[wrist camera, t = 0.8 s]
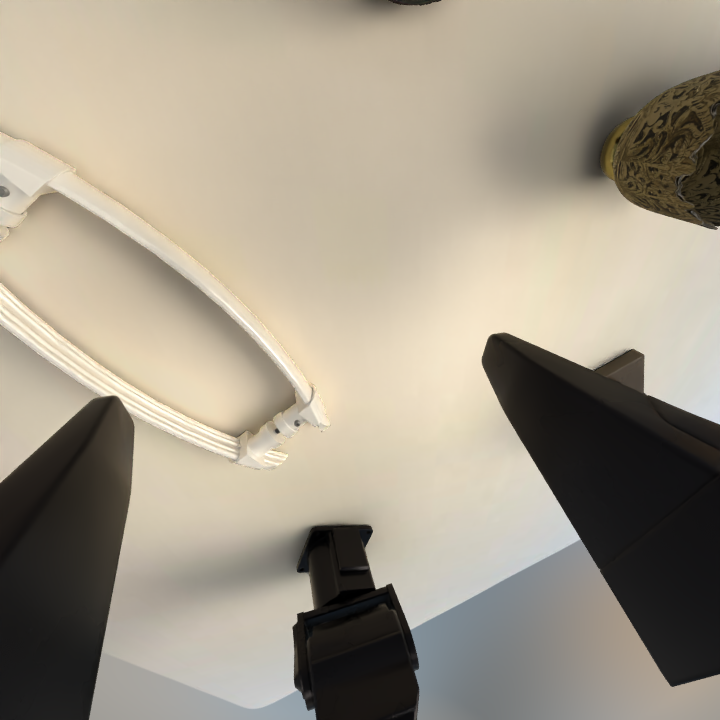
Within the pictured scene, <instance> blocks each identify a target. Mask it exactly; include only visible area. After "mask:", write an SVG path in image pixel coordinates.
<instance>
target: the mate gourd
mask: <svg viewBox="0 0 720 720" xmlns="http://www.w3.org/2000/svg"><path fill="white" fill-rule="evenodd" d="M388 1H391V2H393V3H396V4H400V5H420V6H421V5H425V4H426V5H427V4H431V3H432V2H439V1H441V0H388Z"/></svg>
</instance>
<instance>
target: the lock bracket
mask: <svg viewBox="0 0 720 720" xmlns="http://www.w3.org/2000/svg"><path fill="white" fill-rule="evenodd" d="M595 372H597V373H599V374H601V375H604V376H606V377H608V378H611V379H613V380H615V381H617V382H620V383H622V384H624V385H627V386H629V387H631V388H633V389H636V390H638V391H640V392H643V393H644V354H642V353H640V352H638V351H636V350H634V349H633V350H631V351H629V352H627V353H626V354H624V355H622V356H620V357H618V358H617V359H615V360H613V361H611V362H610V363H608V364H606V365H604V366H602V367H601V368H599V369H597V370H595Z"/></svg>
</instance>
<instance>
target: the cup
mask: <svg viewBox="0 0 720 720" xmlns="http://www.w3.org/2000/svg"><path fill="white" fill-rule="evenodd" d="M600 164H601V169H602V171H603V173H604V174H605V175H606V176H607V177H608V178H610V179H611V180H613V181H615V183H616V185H617V187H618V189H619V191H620V192H621V194H622V195H623V196H624V197H625V198H626V199H627V200H629V201H630V202H632V203H633V204H635V205H637V206H639V207H642V208H644V209H646V210H649V211H652V212H655V213H659V214H662V215H665V216H669V217H672V218H676V219H679V220H683V221H686V222H690V223H694V224H697V225H700V226H703V227H706V228H710V229H714V230H717V229H718V228H717V227H715V226H720V70H719V71H716V72H713V73H709V74H706V75H703V76H700V77H697V78H694V79H691V80H689V81H686V82H683V83H681V84H679V85H677V86H675V87H673V88H670V89H668V90H667V91H665V92H663V93H662V94H660V95H659V96H657V97H656V98H654V99H653V100H652V101H650V102H649V103H648V104H647V105H646V106H645V107H643V108H642V109H641V110H640V111H639V112H638V113H637V115H636V116H633V117H631V118H629V119H627V120H625V121H623V122H622V123H620V124H619V125H618V126H617V127H615V128H614V129H613V130H612V132H611V133H610V134H609V136H608V137H607V139H606V141H605V143H604V145H603V148H602V151H601V156H600ZM711 225H712V226H711Z"/></svg>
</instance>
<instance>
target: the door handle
mask: <svg viewBox="0 0 720 720" xmlns="http://www.w3.org/2000/svg"><path fill="white" fill-rule="evenodd" d="M75 173H76V169H75V168H73V167H72V166H70V165H68V164H66V163H64V162H63V161H61V160H59V159H57V158H56V157H54V156H52V155H50V154H48V153H47V152H45V151H43V150H41V149H39V148H38V147H36V146H34V145H32V144H31V143H29V142H27V141H25V140H22V139H17V140H15V139H13V138H12V137H10V136H8V135H6V134H4V133H2V132H0V242H1V241H2V240H4V239H5V238H6V237H7V236H8V235H9V230H8V228H7V227H11V228H15V227H17V226H18V225H20V223H21V222H22V221H23V220H24V218H25V217H26V216H27V211H26V209H27V208H28V207H29V206H30V205H31V204H32V203H33V202H34V201H35V200H36V199H37V198H38V197H39V196H40V195H44V194H49V193H54V192H59V193H61V194H62V195H64V196H66V197H67V198H69V199H71V200H72V201H74V202H76V203H77V204H79V205H80V206H82V207H84V208H85V209H87V210H89V211H90V212H92V213H94V214H95V215H97V216H98V217H100V218H102V219H103V220H105V221H107V222H108V223H110V224H111V225H112V226H114V227H115V228H117V229H118V230H120V231H121V232H123V233H124V234H126V235H127V236H129V237H130V238H132V239H133V240H135V241H136V242H137V243H139V244H140V245H142V246H143V247H145V248H146V249H148V250H149V251H151V252H152V253H154V254H155V255H156V256H158V257H159V258H160V259H161V260H163V261H164V262H165V263H167V264H168V265H169V266H171V267H172V268H173V269H175V270H176V271H177V272H179V273H180V274H181V275H183V276H184V277H185V278H186V279H188V280H189V281H190V282H192V283H193V284H194V285H195V286H196V287H198V288H199V289H200V290H201V291H202V292H204V293H205V294H206V295H207V296H208V297H209V298H211V299H212V300H213V301H214V302H215V303H216V304H218V305H219V306H220V307H221V308H222V309H223V310H224V311H225V312H226V313H227V314H228V315H229V316H230V317H232V318H233V319H234V320H235V321H236V322H237V323H238V324H239V325H240V326H241V327H242V328H243V329H244V330H245V331H246V332H247V333H248V334H249V335H250V336H251V337H252V338H253V339H254V340H255V341H256V342H257V344H258V345H259V346H260V347H261V348H262V349H263V350H264V351H265V352H266V353H267V355H268V356H269V357H270V358H271V359H272V360H273V361H274V363H275V364H276V365H277V366H278V368H279V369H280V370H281V371H282V373H283V374H284V375H285V376H286V378H287V379H288V380H289V382H290V383H291V384H292V386H293V387H294V389H295V390H296V392H295V396H296V403H295V404H294V405H292V406H291V407H290V408H289V409H287V410H286V411H281V412H280V413H278V414H277V415H276V416H274V423H273V422H271V421H268V422H267V423H265V424H264V425H263V426H262V427H261V428H260V431H259V432H258V433H257V434H256V435H253V434H252V433H250V432H249V431H245V432H244V433H243V434H242V435H240V436H239V437H238V438H235V437H233V436H230V435H228V434H225V433H222V432H220V431H217V430H215V429H213V428H211V427H208V426H206V425H204V424H202V423H200V422H198V421H195V420H193V419H191V418H189V417H187V416H185V415H183V414H181V413H179V412H177V411H175V410H174V409H172V408H170V407H168V406H166V405H164V404H162V403H160V402H158V401H157V400H155V399H153V398H152V397H150V396H148V395H147V394H145V393H143V392H142V391H140V390H138V389H137V388H135V387H133V386H132V385H130V384H128V383H127V382H125V381H124V380H122V379H121V378H119V377H118V376H116V375H115V374H113V373H112V372H110V371H109V370H107V369H106V368H104V367H103V366H101V365H100V364H98V363H97V362H96V361H94V360H93V359H92V358H90V357H89V356H88V355H86V354H85V353H84V352H82V351H81V350H80V349H78V348H77V347H76V346H74V345H73V344H72V343H70V342H69V341H68V340H66V339H65V338H64V337H62V336H61V335H60V334H59V333H58V332H56V331H55V330H54V329H53V328H52V327H50V326H49V325H48V324H47V323H46V322H44V321H43V320H42V319H41V318H40V317H38V316H37V315H36V314H35V313H34V312H33V311H31V310H30V309H29V308H28V307H27V306H25V305H24V304H23V303H22V302H21V301H20V300H19V299H18V298H17V297H16V296H14V295H13V294H12V293H11V292H10V291H9V290H8V289H7V288H6V287H5V286H4V285H3V284H2V283H0V325H1V326H3V327H4V328H5V329H6V330H8V331H9V332H10V333H12V334H13V335H14V336H15V337H17V338H18V339H19V340H21V341H22V342H23V343H24V344H26V345H27V346H28V347H30V348H31V349H32V350H33V351H35V352H36V353H37V354H39V355H40V356H41V357H43V358H44V359H46V360H47V361H49V362H50V363H51V364H53V365H54V366H56V367H57V368H59V369H60V370H61V371H63V372H64V373H66V374H67V375H69V376H70V377H71V378H73V379H74V380H76V381H77V382H79V383H80V384H82V385H83V386H85V387H87V388H88V389H90V390H91V391H93V392H95V393H96V394H98V395H99V396H101V397H104V396H111V395H115V396H117V397H119V399H120V400H121V401H122V403H123V405H124V406H125V408H126V410H127V411H128V412H129V413H130V414H132V415H134V416H136V417H138V418H139V419H141V420H143V421H145V422H147V423H149V424H151V425H153V426H155V427H157V428H159V429H161V430H163V431H165V432H167V433H169V434H171V435H173V436H175V437H178V438H180V439H182V440H184V441H187V442H189V443H192V444H194V445H196V446H199V447H201V448H203V449H206V450H208V451H211V452H213V453H216V454H219V455H222V456H225V457H227V458H229V461H230V462H231V463H235V464H238V465H242V466H246V467H249V468H253V469H257V470H260V469H265V470H273V469H275V468H276V467H277V466H279V465H280V464H281V463H283V462H284V461H285V460H286V457H287V456H288V454H285V453H281V452H278V451H274V450H271V449H272V448H277V447H279V446H280V445H282V444H283V443H284V442H285V437H287V438H291V437H292V436H293V435H295V434H296V433H297V432H298V431H299V427H301V426H302V425H303V424H305V423H306V422H307V421H308V422H309V423H310V424H312V425H313V426H314V427H316V426H318V428H319V430H320V431H321V432H323V431H324V430H326V429H327V428H328V427H329V426H331V425H330V423H329V420H328V418H327V416H326V414H325V405H324V403H323V401H322V399H321V397H320V395H319V393H318V391H317V389H316V387H315V385H314V384H312V383H308V382H307V380H306V379H305V377H304V376H303V374H302V373H301V371H300V370H299V368H298V367H297V366H296V364H295V363H294V361H293V360H292V359H291V357H290V356H289V355H288V353H287V352H286V351H285V349H284V348H283V347H282V345H281V344H280V343H279V342H278V341H277V340H276V338H275V337H274V336H273V335H272V334H271V333H270V332H269V330H268V329H267V328H266V327H265V326H264V325H263V323H262V322H261V321H260V320H259V319H258V318H257V317H256V316H255V315H254V314H253V313H252V312H251V311H250V310H249V309H248V308H247V307H246V306H245V305H244V304H243V303H242V302H241V301H240V300H239V299H238V298H237V297H236V296H235V294H234V293H233V292H231V291H230V290H229V289H228V288H227V287H226V286H225V285H224V284H223V283H221V282H220V281H219V280H218V279H217V278H216V277H215V276H214V275H213V274H211V273H210V272H209V271H208V270H207V269H206V268H205V267H204V266H202V265H201V264H200V263H199V262H197V261H196V260H195V259H194V258H192V257H191V256H190V255H189V254H187V253H186V252H185V251H184V250H182V249H181V248H180V247H179V246H177V245H176V244H175V243H174V242H172V241H171V240H170V239H169V238H167V237H166V236H165V235H163V234H162V233H161V232H159V231H158V230H156V229H155V228H154V227H152V226H151V225H149V224H148V223H147V222H145V221H144V220H142V219H141V218H140V217H138V216H137V215H135V214H134V213H133V212H131V211H130V210H129V209H127V208H126V207H124V206H123V205H121V204H120V203H118V202H117V201H115V200H114V199H112V198H111V197H109V196H107V195H106V194H104V193H103V192H101V191H100V190H98V189H97V188H95V187H94V186H92V185H90V184H89V183H87V182H86V181H84V180H83V179H81V178H80V177H78V176H76V175H75ZM284 436H285V437H284Z"/></svg>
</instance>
